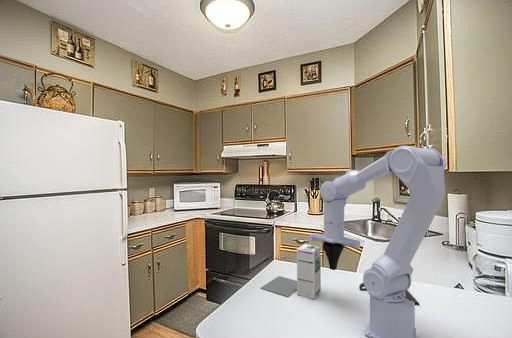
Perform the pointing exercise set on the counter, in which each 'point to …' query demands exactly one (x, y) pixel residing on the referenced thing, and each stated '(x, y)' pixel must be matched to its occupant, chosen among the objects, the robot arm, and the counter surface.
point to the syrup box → (308, 271)
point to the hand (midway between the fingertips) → (333, 268)
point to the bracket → (408, 296)
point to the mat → (281, 286)
